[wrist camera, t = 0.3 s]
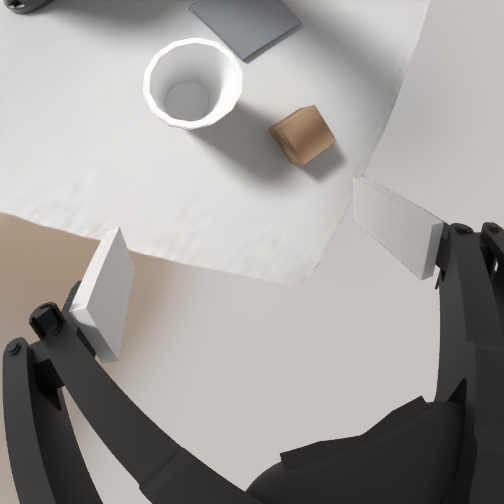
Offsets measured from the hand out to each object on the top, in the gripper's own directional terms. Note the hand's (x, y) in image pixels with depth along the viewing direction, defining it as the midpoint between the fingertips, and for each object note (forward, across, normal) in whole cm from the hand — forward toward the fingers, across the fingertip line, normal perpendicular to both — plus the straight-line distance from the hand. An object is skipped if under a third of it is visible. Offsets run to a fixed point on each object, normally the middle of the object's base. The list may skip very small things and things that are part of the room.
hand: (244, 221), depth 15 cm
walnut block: (+27, +13, 0) cm, 30 cm away
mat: (+30, +9, +20) cm, 37 cm away
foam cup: (+27, -2, +7) cm, 28 cm away
